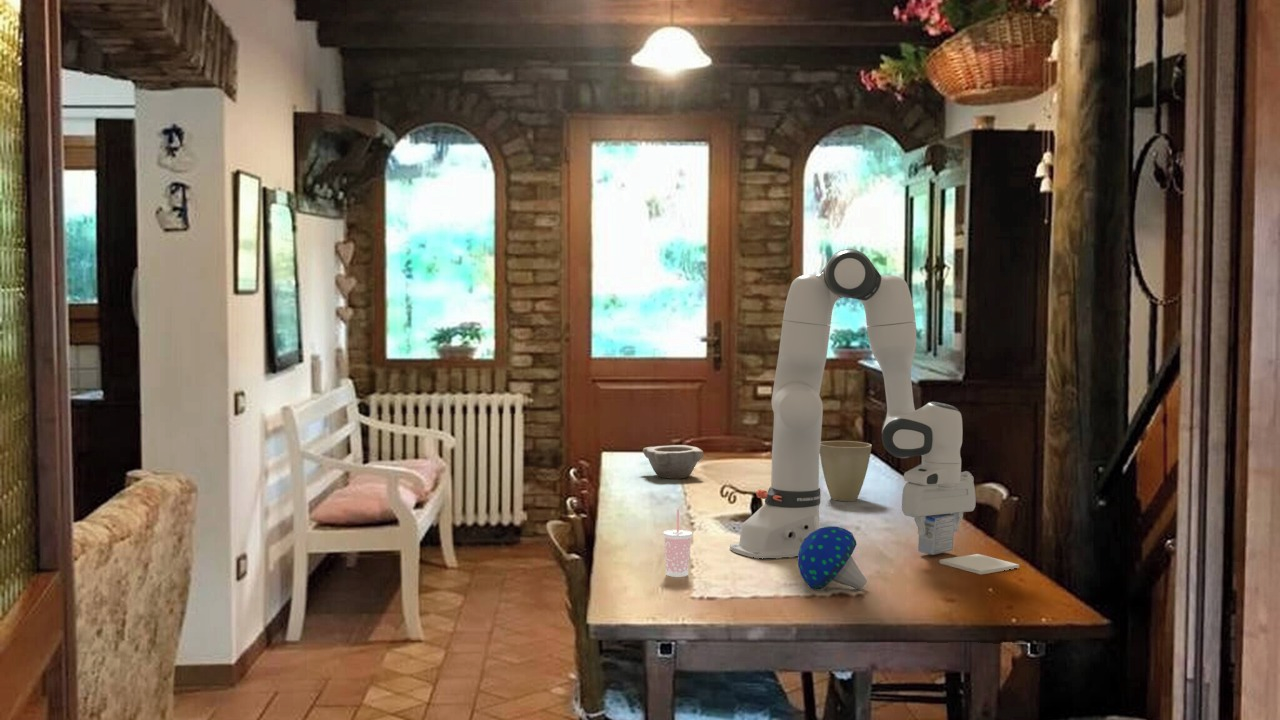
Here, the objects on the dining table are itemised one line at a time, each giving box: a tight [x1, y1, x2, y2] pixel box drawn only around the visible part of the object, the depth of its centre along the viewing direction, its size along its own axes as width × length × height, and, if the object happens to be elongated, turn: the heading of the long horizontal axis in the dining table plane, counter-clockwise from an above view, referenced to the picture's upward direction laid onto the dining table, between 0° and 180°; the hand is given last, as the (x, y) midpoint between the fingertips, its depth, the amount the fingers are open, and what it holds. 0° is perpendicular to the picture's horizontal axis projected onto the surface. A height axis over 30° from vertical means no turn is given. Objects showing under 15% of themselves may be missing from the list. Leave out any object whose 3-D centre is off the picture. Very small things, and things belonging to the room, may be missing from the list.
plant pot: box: [819, 440, 873, 502], centre depth 353 cm, size 15×15×16 cm
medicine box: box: [917, 513, 955, 556], centre depth 284 cm, size 8×4×9 cm, turn 132°
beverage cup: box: [663, 508, 693, 578], centre depth 262 cm, size 6×6×14 cm
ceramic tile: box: [939, 553, 1020, 575], centre depth 274 cm, size 12×12×1 cm
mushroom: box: [797, 525, 868, 591], centre depth 252 cm, size 14×14×15 cm
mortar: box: [642, 444, 704, 480], centre depth 389 cm, size 17×17×9 cm
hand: (938, 533), depth 283 cm, fingers closed on medicine box, 8 cm apart
